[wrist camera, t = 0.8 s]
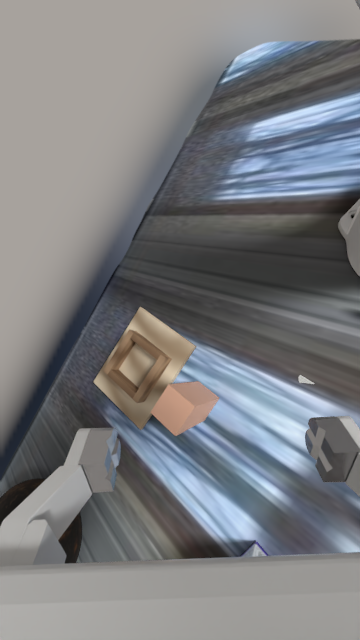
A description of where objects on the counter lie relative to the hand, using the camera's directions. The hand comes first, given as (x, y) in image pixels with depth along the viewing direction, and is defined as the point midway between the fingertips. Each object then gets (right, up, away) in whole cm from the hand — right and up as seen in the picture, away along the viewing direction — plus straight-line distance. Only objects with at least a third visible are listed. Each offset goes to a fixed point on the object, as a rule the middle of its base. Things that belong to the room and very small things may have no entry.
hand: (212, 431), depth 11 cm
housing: (-8, -4, +39) cm, 40 cm away
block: (+2, -9, +33) cm, 34 cm away
